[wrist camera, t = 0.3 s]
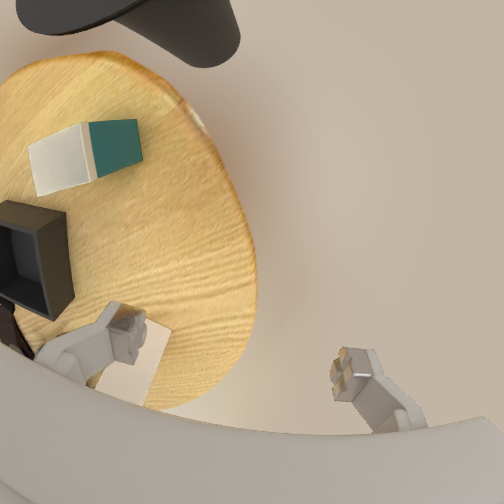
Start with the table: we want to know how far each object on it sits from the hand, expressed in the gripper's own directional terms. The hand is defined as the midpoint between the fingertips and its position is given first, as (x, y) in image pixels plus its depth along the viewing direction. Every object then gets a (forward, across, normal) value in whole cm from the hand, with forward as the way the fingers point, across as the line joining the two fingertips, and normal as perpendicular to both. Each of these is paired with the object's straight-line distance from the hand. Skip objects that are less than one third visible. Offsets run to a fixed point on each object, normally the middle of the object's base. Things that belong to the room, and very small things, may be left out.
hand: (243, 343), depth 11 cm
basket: (+22, +33, +14) cm, 42 cm away
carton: (+22, +18, -3) cm, 28 cm away
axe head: (+21, +58, +45) cm, 76 cm away
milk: (+22, +12, +24) cm, 35 cm away
